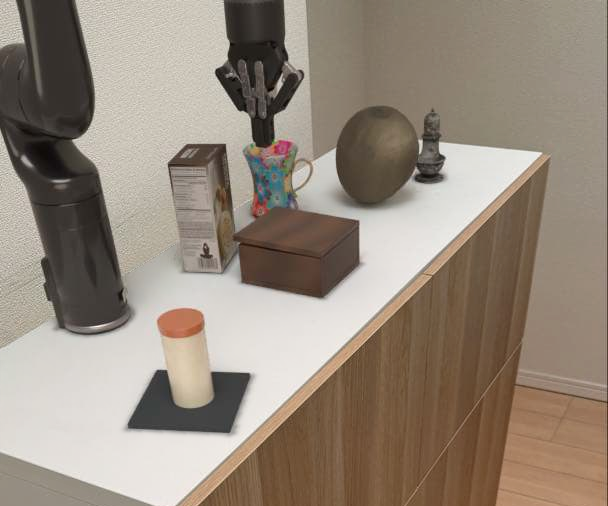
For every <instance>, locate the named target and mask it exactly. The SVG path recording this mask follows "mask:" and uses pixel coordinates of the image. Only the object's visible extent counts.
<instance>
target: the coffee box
mask: <svg viewBox="0 0 608 506" xmlns="http://www.w3.org/2000/svg"><path fill="white" fill-rule="evenodd" d="M166 164H167V170H168V176H169V177H168V178H169V181H170V188H171V195H172V200H173V206H174V207H173V208H174V212H175V219H176V225H177V231H178V237H179V244H180V249H181V256H182V261H183V269H184V271H185V272H188V273H191V272H192V273H216V274H222V273H224V271H225V269H227V267H228V265H229V263H230V262H231V260H232V258H233V257H234V255H236V252H237V251H238V242H236V241H233V235H234V234H236V233H237V231H236V222H235V213H234V204H233V196H232V188H231V187H232V186H231V180H230V178H231V177H230V168H229V160H228V151H227V143H186V144H185V145H184V146H183V147H182V148H181V149H180V150H179V151H178V152H177V153H176V154H175V155H174V156H173V157H172V158H171V159H170V160H169V161H168V162H167V163H166Z"/></svg>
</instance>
